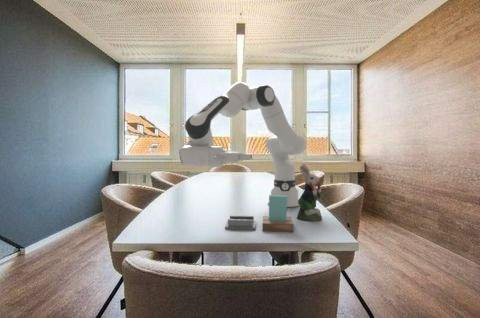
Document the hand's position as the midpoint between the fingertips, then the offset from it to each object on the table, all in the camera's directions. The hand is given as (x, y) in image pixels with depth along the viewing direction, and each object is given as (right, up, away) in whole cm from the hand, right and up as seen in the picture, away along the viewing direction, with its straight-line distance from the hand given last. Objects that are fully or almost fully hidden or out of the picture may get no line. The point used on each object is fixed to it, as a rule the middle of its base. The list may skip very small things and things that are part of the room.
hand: (251, 157), depth 129 cm
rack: (-4, -29, +1) cm, 29 cm away
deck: (+11, -29, 0) cm, 31 cm away
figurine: (+27, -28, +15) cm, 42 cm away
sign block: (+11, -26, 0) cm, 28 cm away
